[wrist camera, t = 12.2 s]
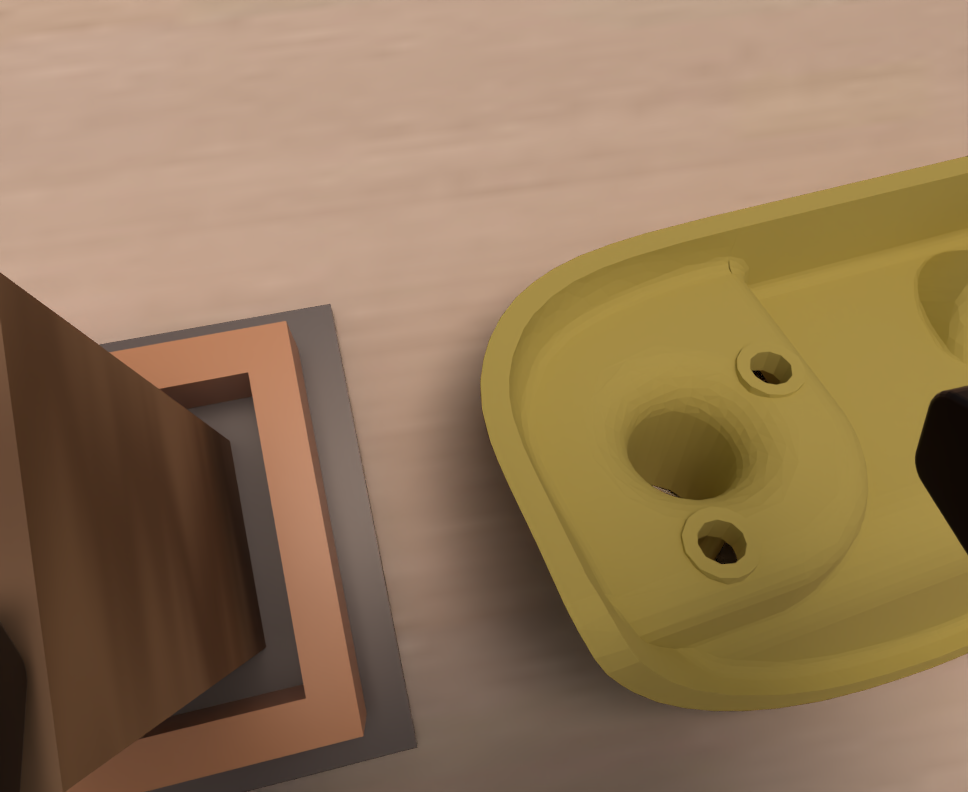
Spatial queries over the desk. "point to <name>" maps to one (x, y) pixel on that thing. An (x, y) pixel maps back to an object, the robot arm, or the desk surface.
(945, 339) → the plastic component
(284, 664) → the socket board
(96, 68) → the desk surface
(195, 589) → the walnut post
